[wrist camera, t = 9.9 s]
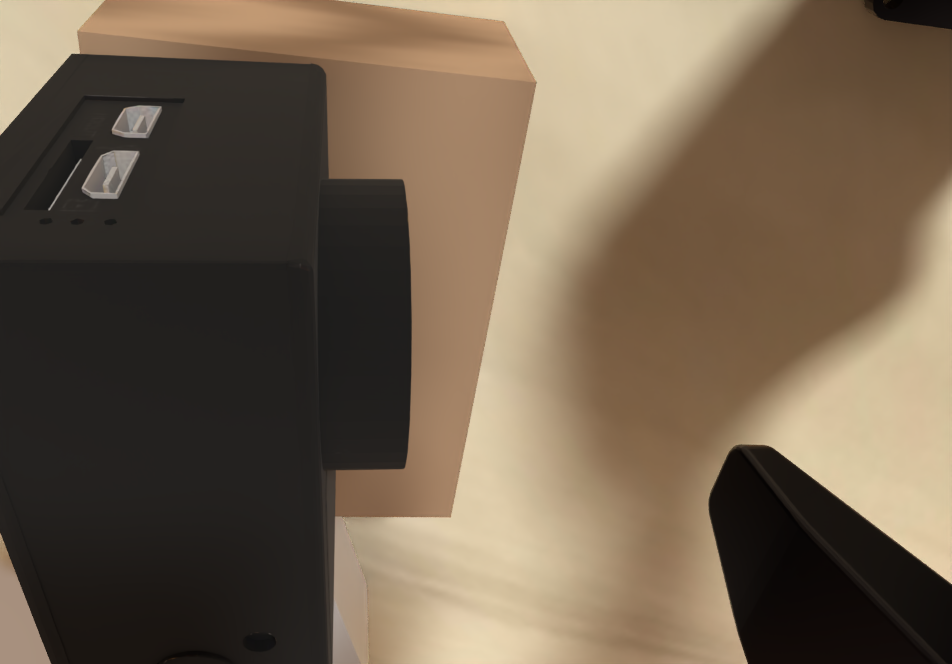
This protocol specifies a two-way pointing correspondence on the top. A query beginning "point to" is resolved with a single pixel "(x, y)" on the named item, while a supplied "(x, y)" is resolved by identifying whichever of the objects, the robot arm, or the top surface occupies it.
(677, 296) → the top surface
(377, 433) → the digital camera
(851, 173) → the top surface
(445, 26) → the light brown rectangular block
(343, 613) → the grey block
